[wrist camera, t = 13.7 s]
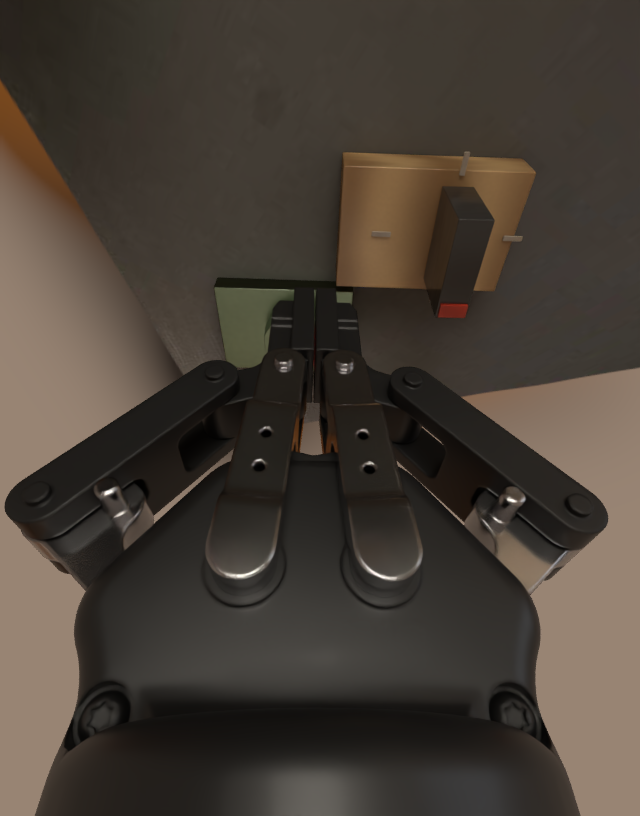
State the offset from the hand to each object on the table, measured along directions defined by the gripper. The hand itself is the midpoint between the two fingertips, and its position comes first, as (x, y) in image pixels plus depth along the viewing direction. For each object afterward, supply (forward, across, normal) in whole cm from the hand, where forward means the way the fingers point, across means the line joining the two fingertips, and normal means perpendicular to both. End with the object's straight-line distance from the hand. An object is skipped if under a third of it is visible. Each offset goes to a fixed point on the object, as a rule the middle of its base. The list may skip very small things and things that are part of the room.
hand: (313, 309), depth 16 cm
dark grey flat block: (+18, -10, +5) cm, 21 cm away
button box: (+21, +2, +16) cm, 26 cm away
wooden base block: (+21, -9, +5) cm, 23 cm away
